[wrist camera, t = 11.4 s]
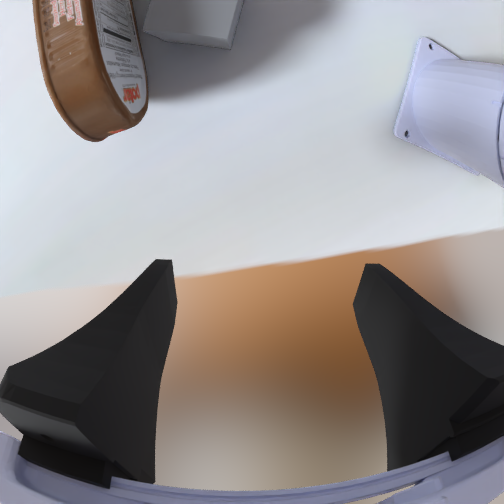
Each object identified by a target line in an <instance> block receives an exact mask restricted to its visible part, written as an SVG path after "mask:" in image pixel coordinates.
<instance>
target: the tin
mask: <svg viewBox="0 0 504 504" xmlns="http://www.w3.org/2000/svg"><path fill="white" fill-rule="evenodd" d="M32 2H33V13H34V23H35V30H36V39H37V44H38V51H39V57H40V64H41V69H42V73H43V77H44V81H45V84H46V87H47V90H48V93H49V95H50V97H51V99H52V101H53V103H54V106H55V107H56V109H57V111H58V112H59V114H60V115H61V117H62V118H63V120H64V121H65V122H66V123H67V125H68V126H69V127H70V128H71V129H72V130H73V131H74V132H75V133H76V134H77V135H79V136H80V137H82V138H83V139H85V140H87V141H91V142H99V141H102V140H104V139H105V138H107V137H108V136H110V135H113V134H115V133H118V132H121V131H124V130H127V129H129V128H132V127H134V126H136V125H137V124H138V123H139V122H140V121H141V120H142V118H143V117H144V115H145V113H146V111H147V108H148V82H147V75H146V68H145V63H144V59H143V54H142V50H141V45H140V40H139V35H138V30H137V25H136V20H135V15H134V10H133V5H132V0H32Z"/></svg>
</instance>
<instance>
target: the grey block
mask: <svg viewBox="0 0 504 504" xmlns="http://www.w3.org/2000/svg"><path fill="white" fill-rule="evenodd" d="M243 3H244V0H150V3H149V7H148V10H147V14H146V18H145V22H144V26H143V30H142V31H144V32H147V33H149V34H151V35H153V36H155V37H158V38H160V39H162V40H164V41H166V42H175V43H185V44H194V45H202V46H210V47H216V48H223V49H229V50H231V47H232V43H233V39H234V35H235V32H236V28H237V24H238V20H239V17H240V13H241V10H242V6H243Z"/></svg>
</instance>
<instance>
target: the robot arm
mask: <svg viewBox="0 0 504 504" xmlns="http://www.w3.org/2000/svg"><path fill="white" fill-rule="evenodd" d="M429 44H430V45H431V46H432V49H430V48H429ZM393 131H394V134H395V136H396V137H398V138H400V139H403V140H405V141H407V142H410V143H412V144H414V145H416V146H419V147H421V148H423V149H425V150H427V151H430V152H432V153H434V154H436V155H438V156H440V157H442V158H444V159H446V160H448V161H450V162H452V163H454V164H456V165H458V166H460V167H462V168H464V169H465V170H467V171H469V172H471V173H473V174H475V175H479V174H480V173H481V174H482V175H484V176H486V177H487V178H489V179H490V180H492V181H494V182H495V183H497V184H498V185H500V186H501V187H503V188H504V65H501V64H494V63H486V62H477V61H466V60H461V59H460V58H458V57H457V56H455V55H454V54H452V53H451V52H449V51H448V50H446V49H445V48H443V47H442V46H440V45H438V44H437V43H435V42H433V41H432V40H430V39H428V38H427V37H420V38H419V39H418V43H417V47H416V51H415V55H414V59H413V63H412V67H411V71H410V75H409V79H408V82H407V86H406V89H405V93H404V96H403V100H402V103H401V107H400V110H399V113H398V116H397V120H396V123H395V126H394V130H393ZM405 131H408V135H407V136H406V137H405V135H404V133H405ZM353 307H354V311H355V316H356V320H357V324H358V327H359V330H360V333H361V336H362V338H363V341H364V343H365V346H366V349H367V351H368V354H369V357H370V360H371V362H372V365H373V368H374V371H375V374H376V377H377V381H378V385H379V390H380V395H381V400H382V406H383V412H384V419H385V428H386V437H387V463H388V464H387V472H384V473H380V474H376V475H372V476H368V477H364V478H359V479H354V480H349V481H343V482H338V483H332V484H326V485H319V486H311V487H303V488H293V489H281V490H262V491H218V490H199V489H187V488H177V487H169V486H161V485H154V484H153V483H155V436H156V421H157V407H158V398H159V389H160V382H161V377H162V373H163V369H164V365H165V361H166V357H167V353H168V349H169V345H170V341H171V337H172V333H173V329H174V324H175V317H176V309H177V297H176V289H175V281H174V273H173V265H172V260H163V259H156V260H155V261H154V262H153V263H152V264H150V265H149V267H148V268H147V269H146V270H145V271H144V272H143V273H142V274H141V275H140V276H139V277H138V278H137V279H136V280H135V281H134V282H133V283H132V284H131V285H130V286H129V287H128V288H127V289H126V290H125V291H124V292H123V293H122V294H121V295H120V296H119V297H118V298H117V299H116V300H115V301H113V302H112V303H111V304H110V305H109V306H108V307H107V308H106V309H105V310H104V311H102V312H101V313H100V314H99V315H97V316H96V317H95V318H94V319H92V320H91V321H90V322H89V323H87V324H86V325H84V326H83V327H82V328H80V329H79V330H77V331H76V332H74V333H73V334H71V335H70V336H68V337H67V338H65V339H64V340H62V341H60V342H59V343H57V344H56V345H54V346H52V347H50V348H48V349H46V350H44V351H43V352H41V353H39V354H37V355H35V356H33V357H30V358H28V359H26V360H24V361H21V362H19V363H17V364H14V365H12V366H9V367H8V369H7V371H6V373H5V375H4V377H3V379H2V381H1V384H0V413H1V414H2V415H3V416H4V417H5V418H6V419H7V420H8V421H9V422H10V423H11V424H12V425H13V426H14V427H16V428H17V429H18V430H19V431H20V432H21V433H22V434H23V438H22V441H19V440H17V439H16V438H14V437H12V436H10V435H8V434H6V433H4V432H2V431H0V504H343V503H348V502H353V501H358V500H362V499H366V498H370V497H374V496H377V495H382V494H385V493H388V492H392V491H395V490H398V489H401V488H404V487H408V486H411V485H413V484H415V485H414V486H413V487H411V488H409V489H406V490H404V491H401V492H398V493H395V494H394V495H392V496H391V497H389V498H387V499H385V500H383V501H381V502H379V503H376V504H488V503H490V502H491V501H492V500H494V499H495V498H496V497H497V496H499V495H500V494H501V493H503V492H504V346H503V345H500V344H498V343H496V342H494V341H491V340H489V339H487V338H485V337H483V336H481V335H479V334H477V333H475V332H473V331H471V330H470V329H468V328H466V327H464V326H463V325H461V324H459V323H458V322H456V321H455V320H453V319H452V318H450V317H449V316H447V315H446V314H444V313H443V312H441V311H440V310H439V309H437V308H436V307H434V306H433V305H432V304H431V303H429V302H428V301H426V300H425V299H424V298H423V297H421V296H420V295H419V294H418V293H416V292H415V291H414V290H413V289H412V288H410V287H409V286H408V285H406V284H405V283H404V282H403V281H402V280H400V279H399V278H398V277H397V276H395V275H394V274H393V273H392V272H390V271H389V270H388V269H386V268H385V267H383V266H382V265H380V264H365V267H364V271H363V274H362V277H361V280H360V284H359V287H358V290H357V293H356V296H355V299H354V302H353Z"/></svg>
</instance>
